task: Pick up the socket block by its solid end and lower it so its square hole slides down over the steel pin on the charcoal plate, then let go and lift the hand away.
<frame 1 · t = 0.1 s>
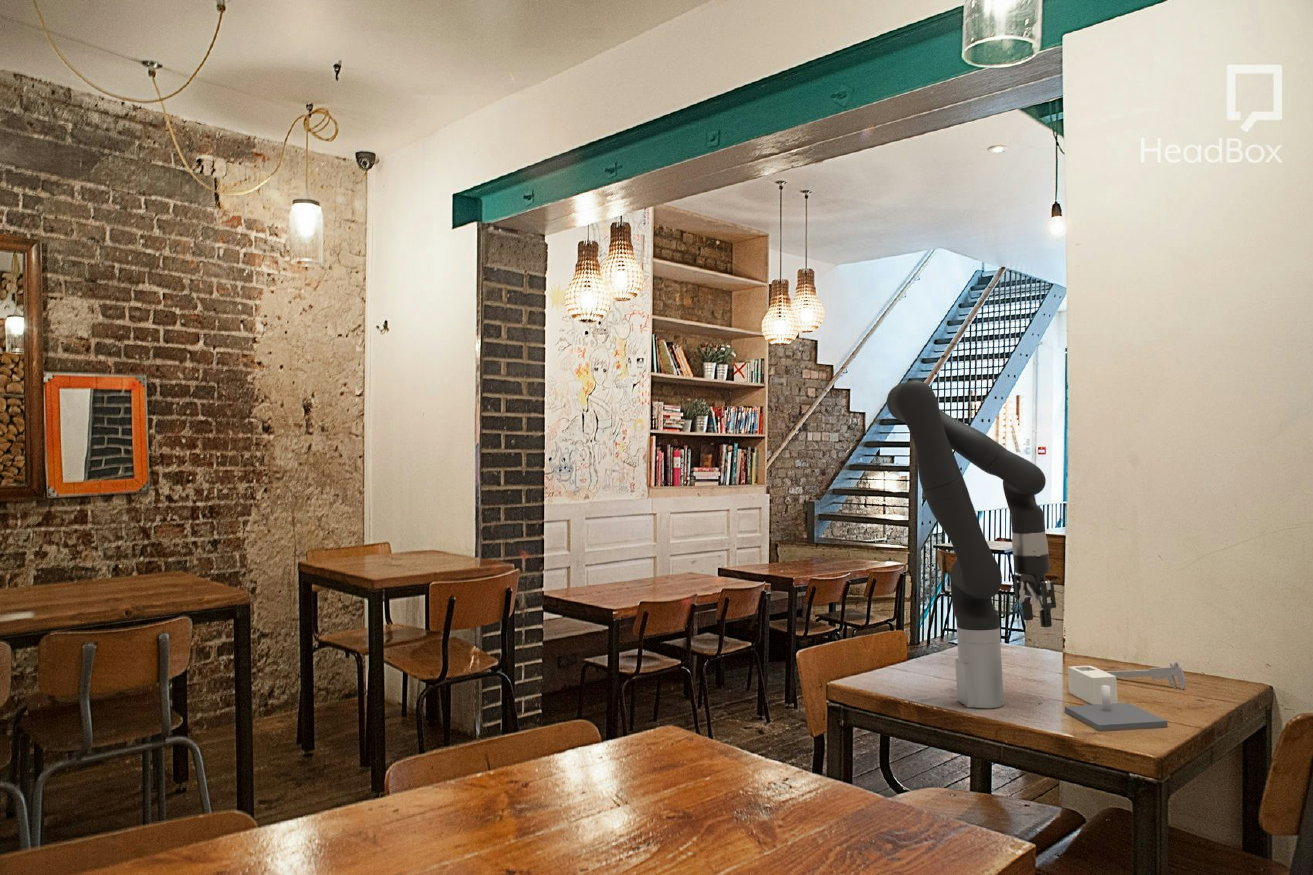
hand: (1037, 623, 205), 17 cm above the table, tool pointing down, fingers open, 8 cm apart
pin plate: (1114, 719, 188), on the table
caliper: (1138, 684, 216), on the table
socket block: (1092, 698, 204), on the table
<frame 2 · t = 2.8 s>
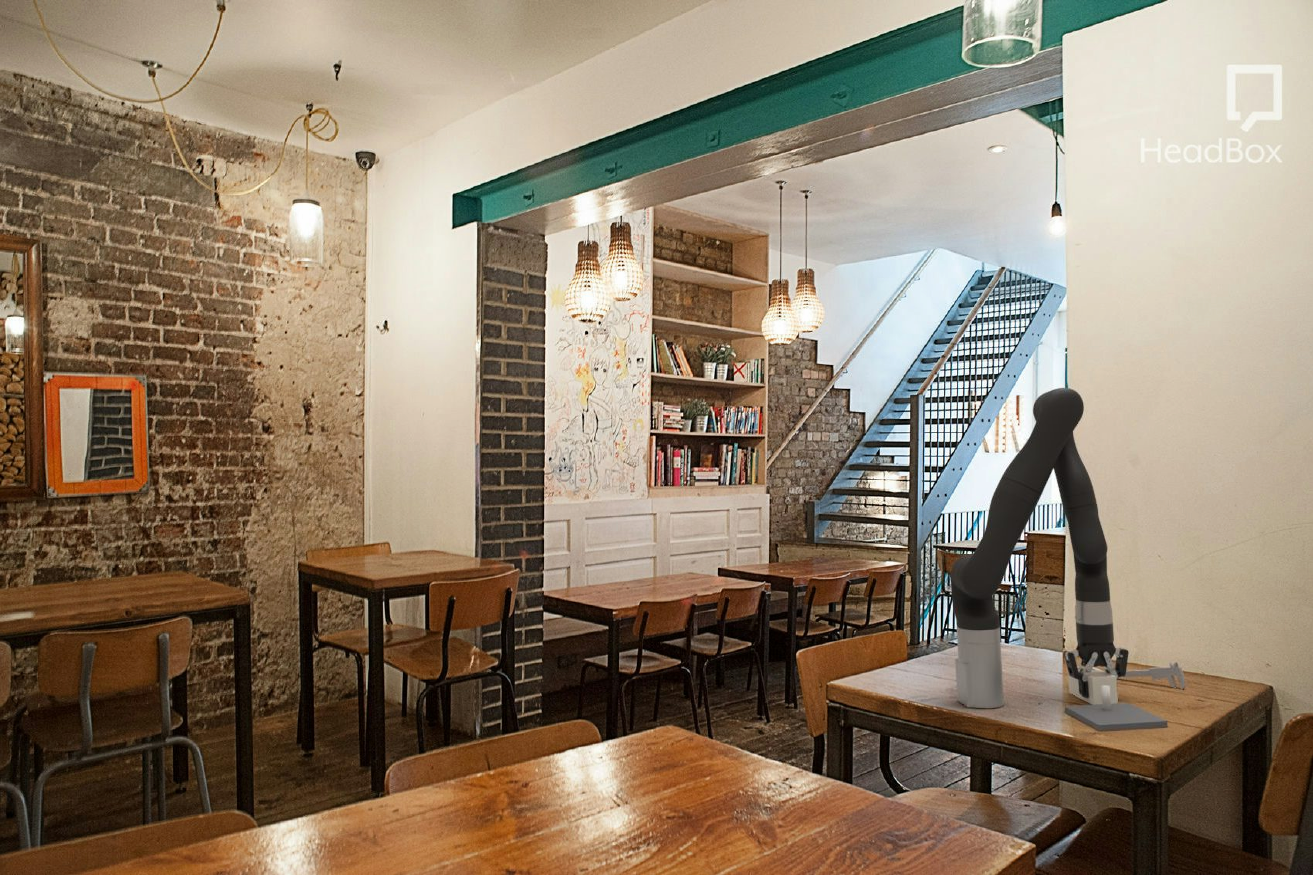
hand: (1098, 696, 202), 1 cm above the table, tool pointing down, fingers closed on socket block, 5 cm apart
socket block: (1092, 698, 204), on the table, touching gripper
everything else where it was.
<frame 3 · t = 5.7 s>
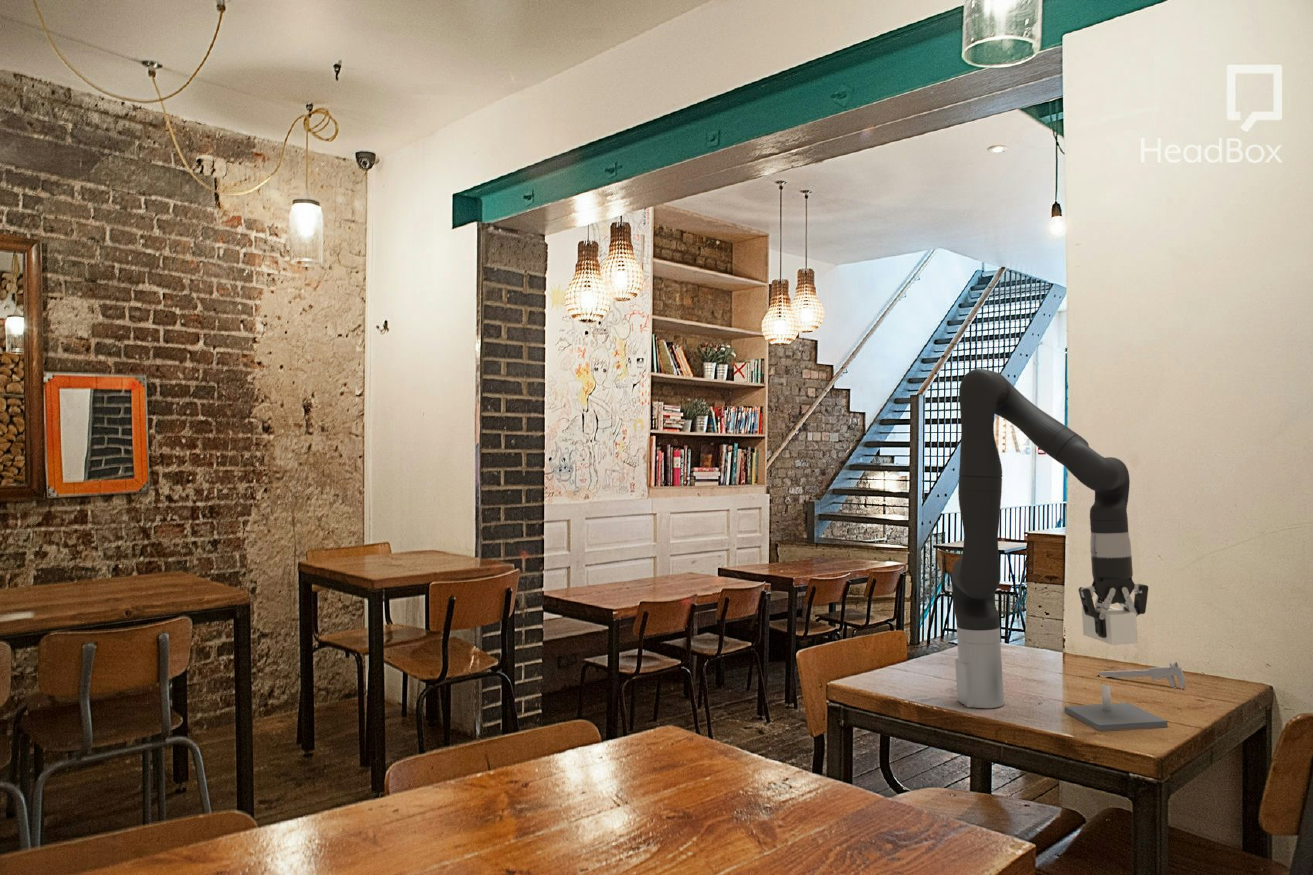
hand: (1116, 635, 187), 18 cm above the table, tool pointing down, fingers closed on socket block, 5 cm apart
socket block: (1109, 638, 189), point 16 cm above the table, touching gripper
everything else where it was.
when the fingers open (4 cm above the table, at t = 8.8 s): socket block drops 1 cm, resting on pin plate.
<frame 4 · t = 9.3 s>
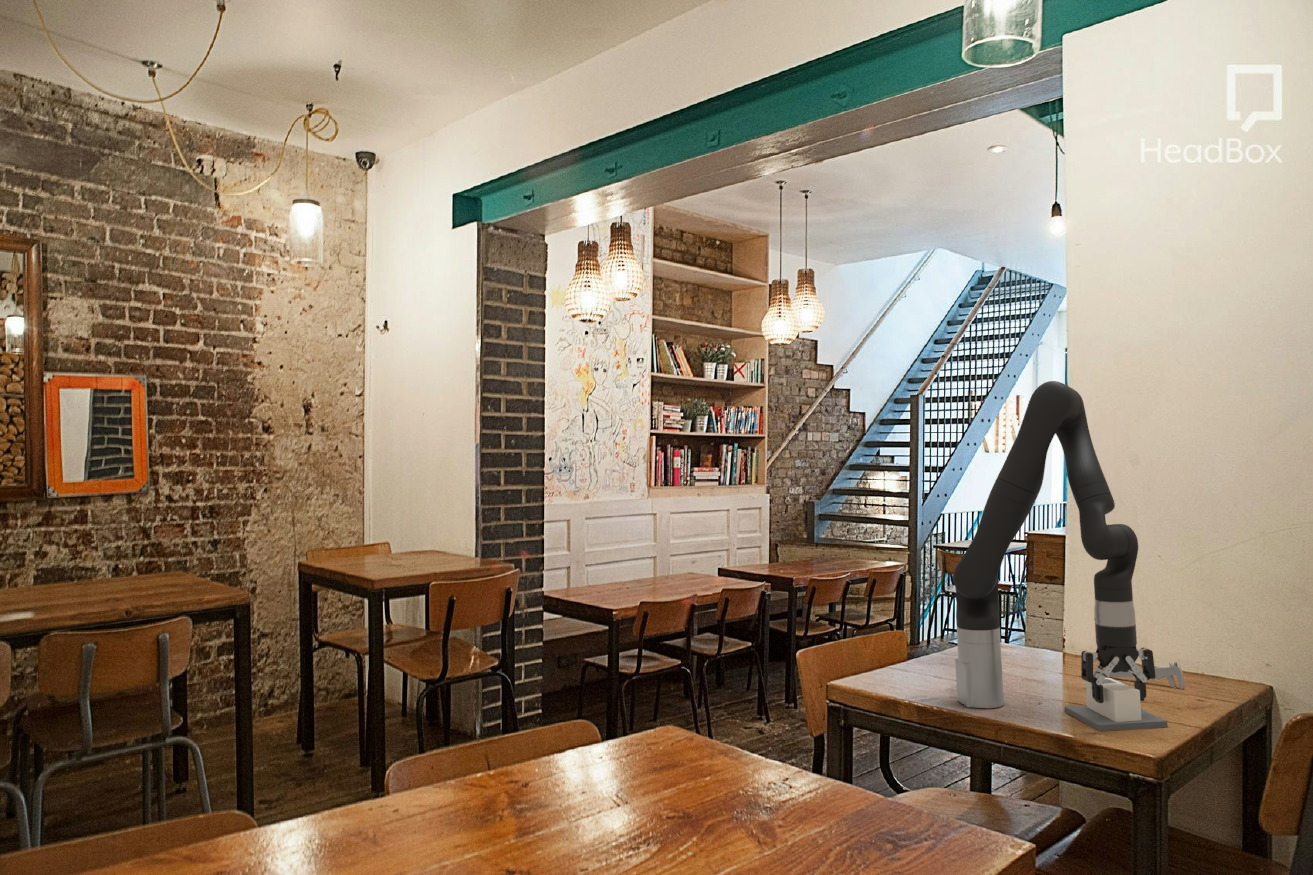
hand: (1119, 701, 186), 4 cm above the table, tool pointing down, fingers open, 8 cm apart
socket block: (1113, 713, 188), point 1 cm above the table, touching pin plate
everything else where it was.
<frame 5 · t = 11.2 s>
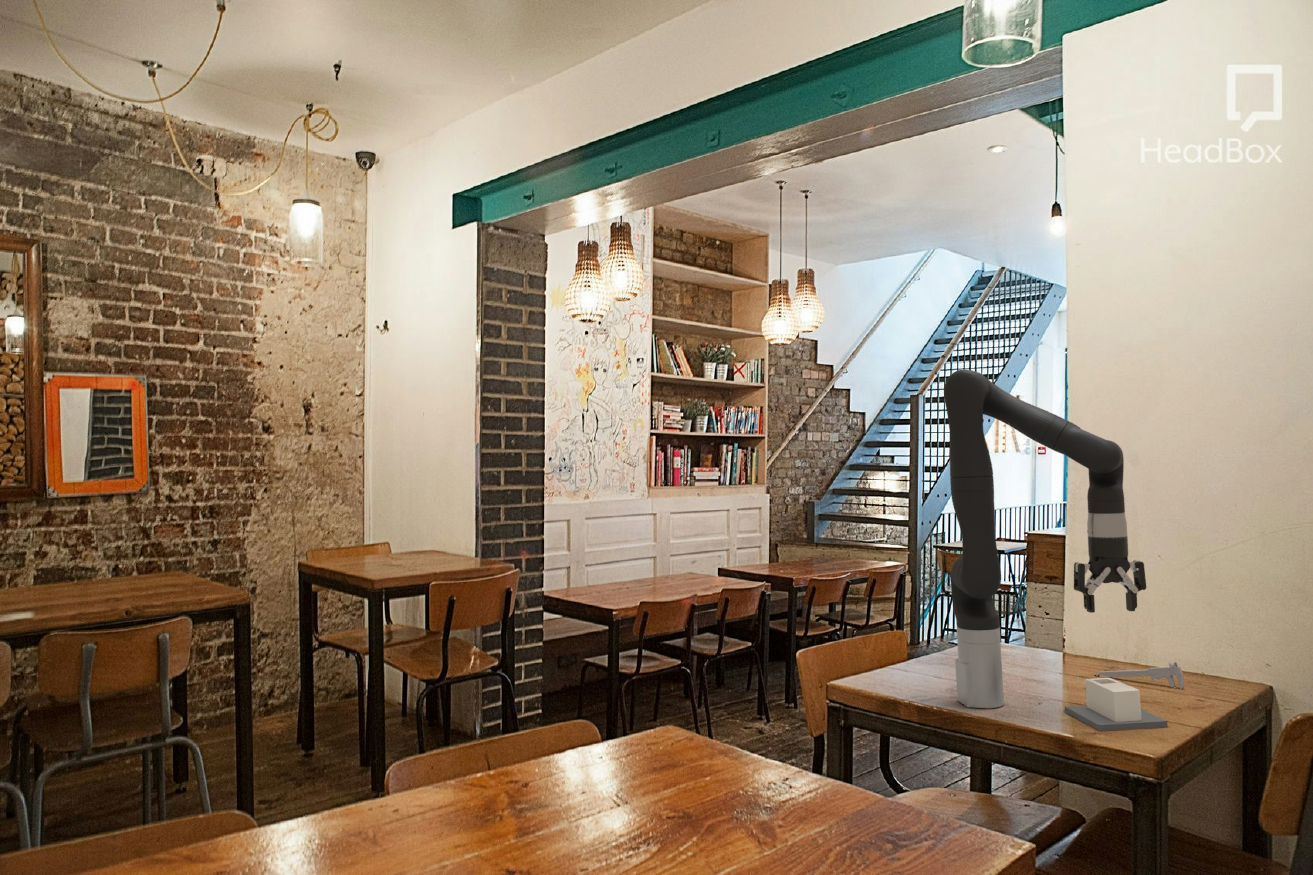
hand: (1110, 611, 191), 22 cm above the table, tool pointing down, fingers open, 8 cm apart
nothing on the table moved.
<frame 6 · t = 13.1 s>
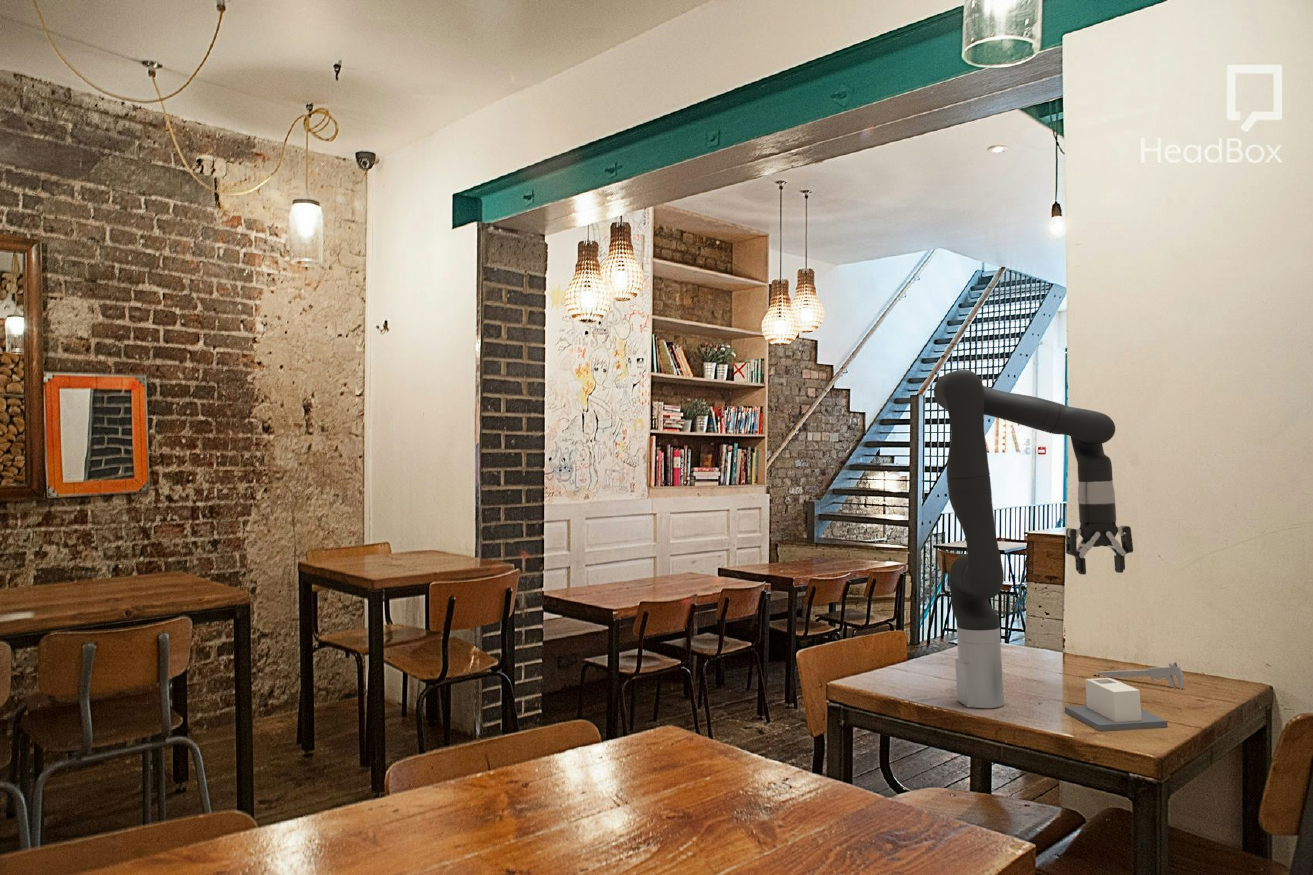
hand: (1100, 573, 204), 28 cm above the table, tool pointing down, fingers open, 8 cm apart
nothing on the table moved.
at the end: socket block 0.2 cm off-centre on the pin plate, point 1.2 cm above the pin plate's base; socket block tilted 0°; the gripper is holding nothing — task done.
